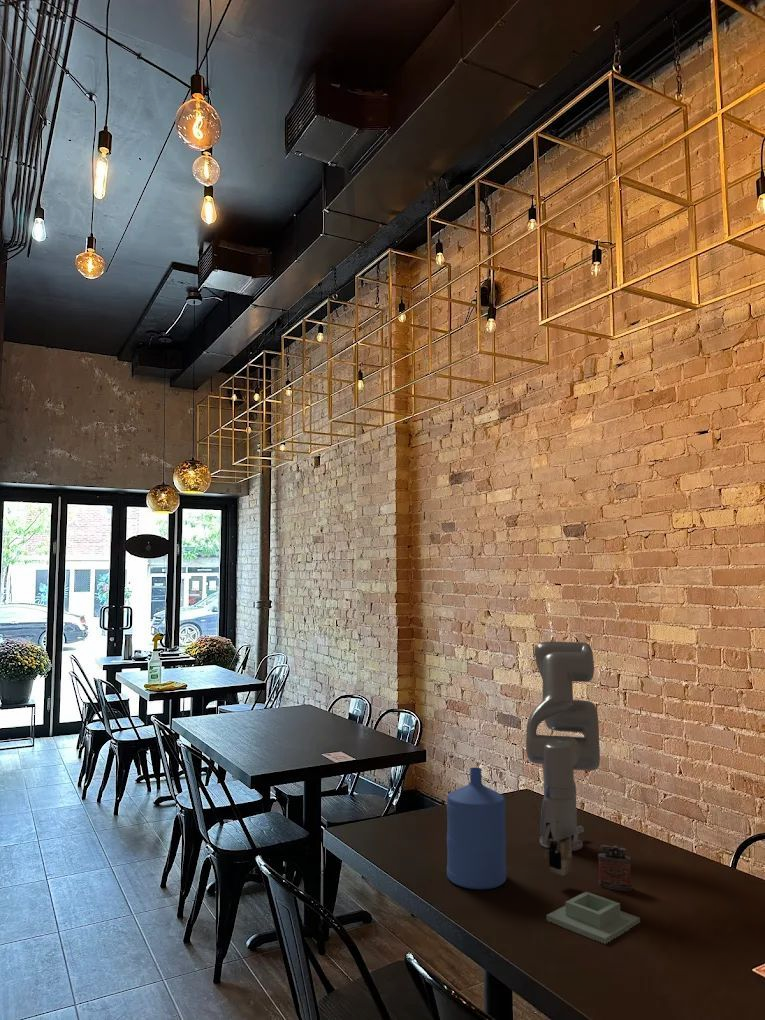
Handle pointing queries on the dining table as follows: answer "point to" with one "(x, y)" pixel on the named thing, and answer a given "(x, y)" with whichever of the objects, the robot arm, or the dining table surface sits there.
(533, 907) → the dining table surface
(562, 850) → the birch peg
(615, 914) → the slot holder
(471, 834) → the water jug
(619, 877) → the lighter
